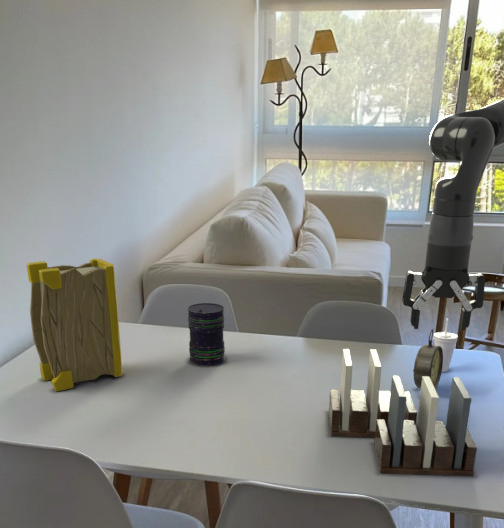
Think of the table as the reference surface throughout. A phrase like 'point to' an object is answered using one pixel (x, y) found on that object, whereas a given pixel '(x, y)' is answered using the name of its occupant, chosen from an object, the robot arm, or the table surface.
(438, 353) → the alarm clock
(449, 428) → the grey book
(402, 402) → the grey book
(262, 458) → the table surface
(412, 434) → the book stands
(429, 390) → the ivory book
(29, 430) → the table surface
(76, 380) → the decorative book
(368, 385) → the ivory book
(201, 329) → the black barrel
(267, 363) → the table surface
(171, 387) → the table surface
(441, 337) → the smoothie
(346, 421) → the ivory book
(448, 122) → the robot arm
